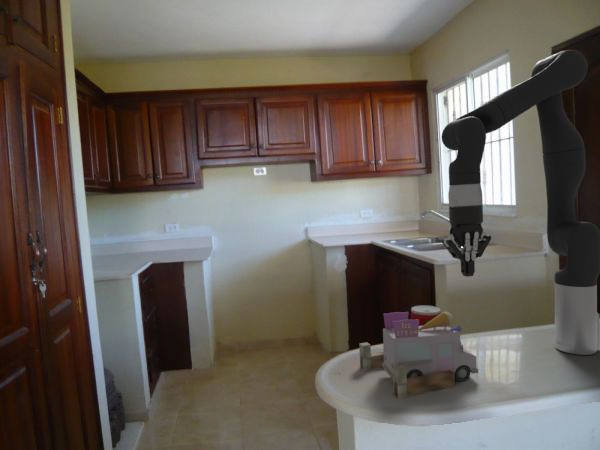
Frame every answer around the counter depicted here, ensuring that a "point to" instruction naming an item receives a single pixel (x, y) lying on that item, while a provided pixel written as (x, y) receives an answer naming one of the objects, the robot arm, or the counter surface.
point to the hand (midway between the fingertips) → (467, 275)
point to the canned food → (424, 313)
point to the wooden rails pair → (400, 380)
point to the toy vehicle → (425, 346)
